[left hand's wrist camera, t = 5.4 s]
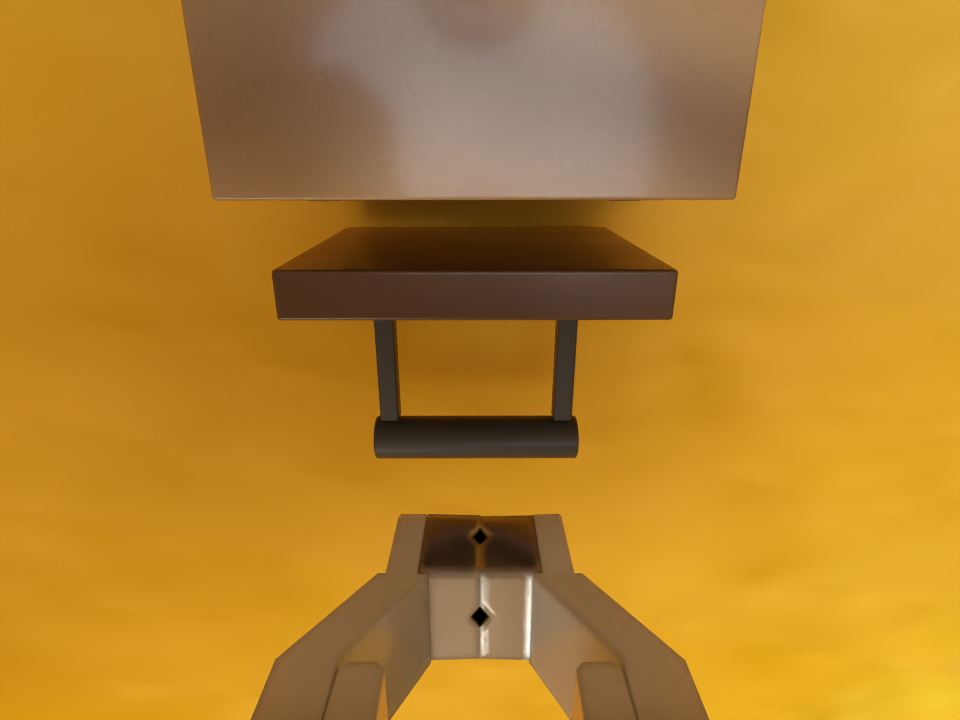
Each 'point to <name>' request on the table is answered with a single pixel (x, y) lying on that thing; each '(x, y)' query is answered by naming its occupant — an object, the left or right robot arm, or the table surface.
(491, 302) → the drawer
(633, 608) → the table surface
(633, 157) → the cabinet
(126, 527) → the table surface
